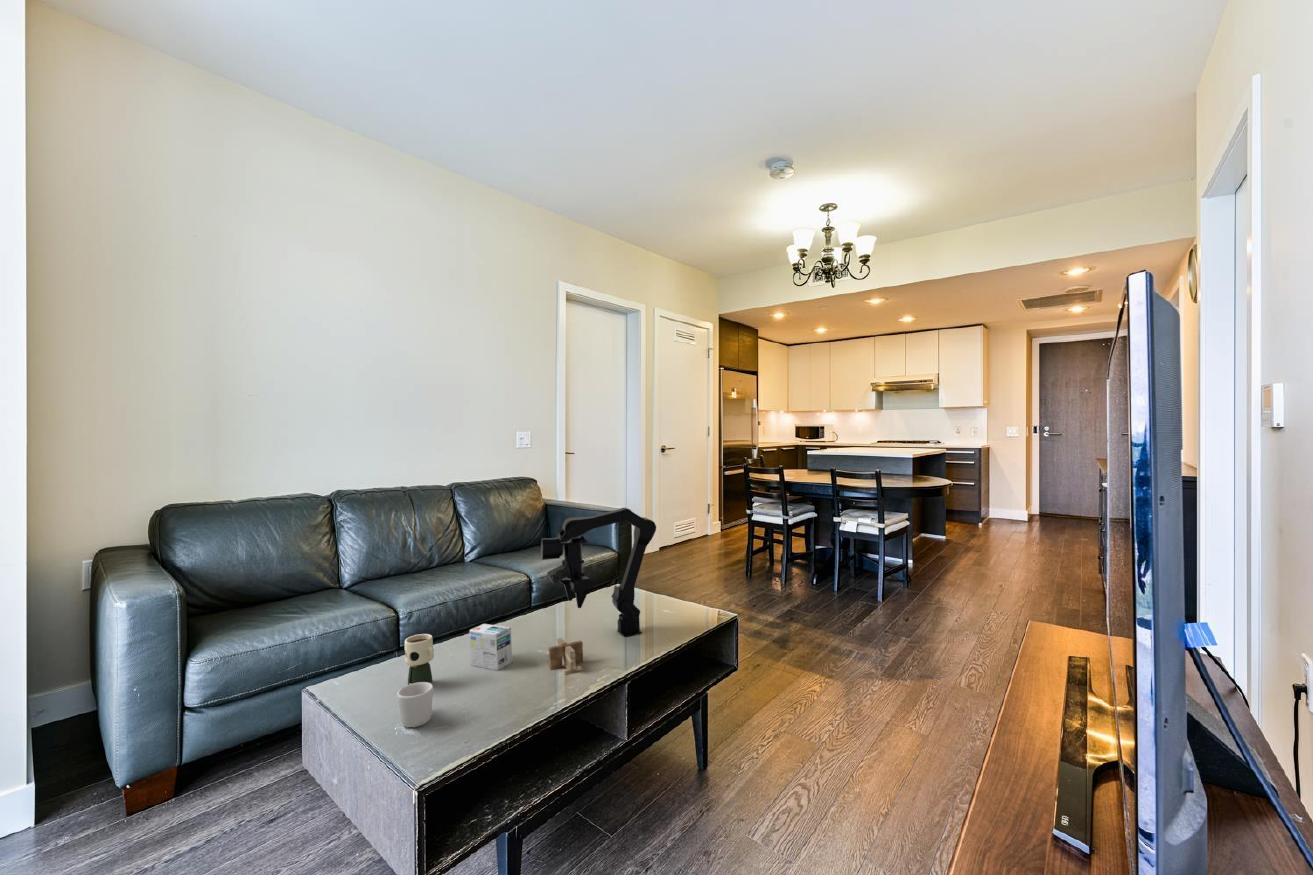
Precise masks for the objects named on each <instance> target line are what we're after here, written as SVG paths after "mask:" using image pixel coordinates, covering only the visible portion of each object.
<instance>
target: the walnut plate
mask: <svg viewBox="0 0 1313 875" xmlns="http://www.w3.org/2000/svg"><path fill="white" fill-rule="evenodd" d="M583 642H584V641H582V640H577V641H573V642H569V643H567V642H566V643H567V644H563V645H558V646H557V645H554V646H549V647H548V648H547V649H548V668H549V670H550V671H552V670H557V669H560V668H563V666H564V665H563V664H562V657H563V656H565V647H566V646H570V647H571V648H572V649H573V650H574V651H575V665H577V664H581V663H584V643H583Z"/></svg>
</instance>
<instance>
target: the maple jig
mask: <svg viewBox="0 0 1313 875" xmlns="http://www.w3.org/2000/svg"><path fill="white" fill-rule="evenodd" d="M556 642H557V643H556V644H557V645H556V646H558V645H563V644H567V641H565V639H564V638H562V637H560V638H556ZM562 665H563V666H564V667H565V668H564V669H562V673H563V674H564V675H569V674H572V673H577V672H578V673H579V672H581V671H582V666H580V665H578V666H576V664H575V651H574V650H573V649H572V648H571V647H570V646H566V647H565V656H563V657H562Z"/></svg>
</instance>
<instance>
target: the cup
mask: <svg viewBox="0 0 1313 875" xmlns="http://www.w3.org/2000/svg"><path fill="white" fill-rule="evenodd" d="M433 697H434V685H433V684H432V682H431V683H427V682H418V683H413V684H409V685H408V684H407V685H404V686H402V687H401V688H400V689H399V690H398V691H397V693H396V698H397V699H396V700H397V705H398V710H399V711H398V712H399V717H400V722H401V724H402V725H403V727H405V728H408V727H413V728H417V727H422V726H424V725H425V724H426V723H428V722H429V721H430V719H431V718H432V711H433Z"/></svg>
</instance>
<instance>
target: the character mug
mask: <svg viewBox="0 0 1313 875" xmlns="http://www.w3.org/2000/svg"><path fill="white" fill-rule="evenodd" d="M433 642H434V641H433V635H432V634H429V633H421V634H419V633H418V634H414V635H411V636H409V637H407V638H405V639H404V653H405V654H404V655H405V656H404V662H405V664H406V665H407V666H409V668H408V676H407V685H409V684H413V683H418V682H427V683H431V684H432V682H433V675H432V669H431V664H430V663H429V662H431V661H432V660H434V657H435V654H434V645H433V644H434V643H433Z"/></svg>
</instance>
